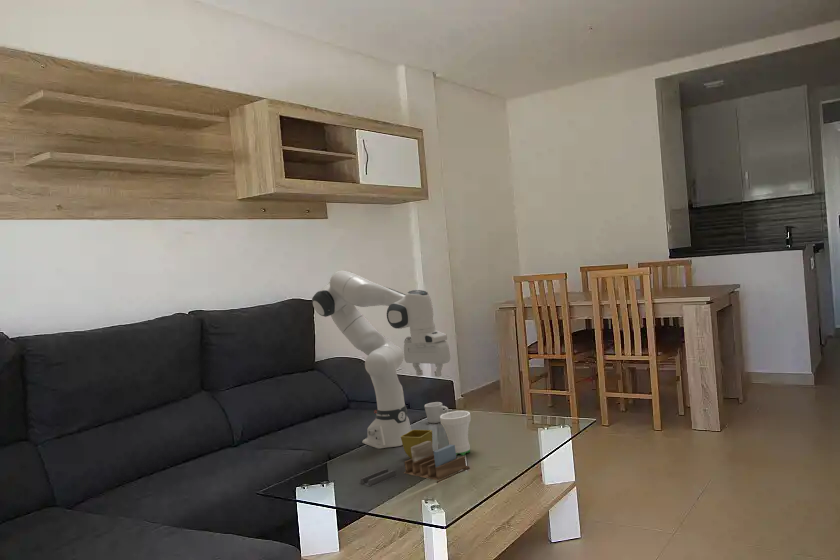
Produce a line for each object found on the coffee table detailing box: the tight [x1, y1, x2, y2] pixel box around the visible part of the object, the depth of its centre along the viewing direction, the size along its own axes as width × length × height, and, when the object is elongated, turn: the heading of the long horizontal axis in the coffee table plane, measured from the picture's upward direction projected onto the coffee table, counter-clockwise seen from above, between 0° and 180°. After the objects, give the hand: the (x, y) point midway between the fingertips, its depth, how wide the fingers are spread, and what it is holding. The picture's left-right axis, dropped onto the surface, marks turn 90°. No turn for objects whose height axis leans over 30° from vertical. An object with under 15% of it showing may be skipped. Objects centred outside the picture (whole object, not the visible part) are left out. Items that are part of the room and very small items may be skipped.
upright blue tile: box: [433, 444, 458, 467], centre depth 223 cm, size 2×8×8 cm, turn 132°
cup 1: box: [424, 401, 450, 424], centre depth 296 cm, size 11×8×8 cm
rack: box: [402, 440, 470, 484], centre depth 227 cm, size 17×15×9 cm
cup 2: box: [440, 410, 472, 456], centre depth 245 cm, size 11×11×14 cm
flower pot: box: [401, 429, 433, 459], centre depth 246 cm, size 9×9×9 cm
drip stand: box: [359, 467, 398, 488], centre depth 224 cm, size 7×11×3 cm, turn 133°
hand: (428, 375), depth 235 cm, fingers open, 8 cm apart
